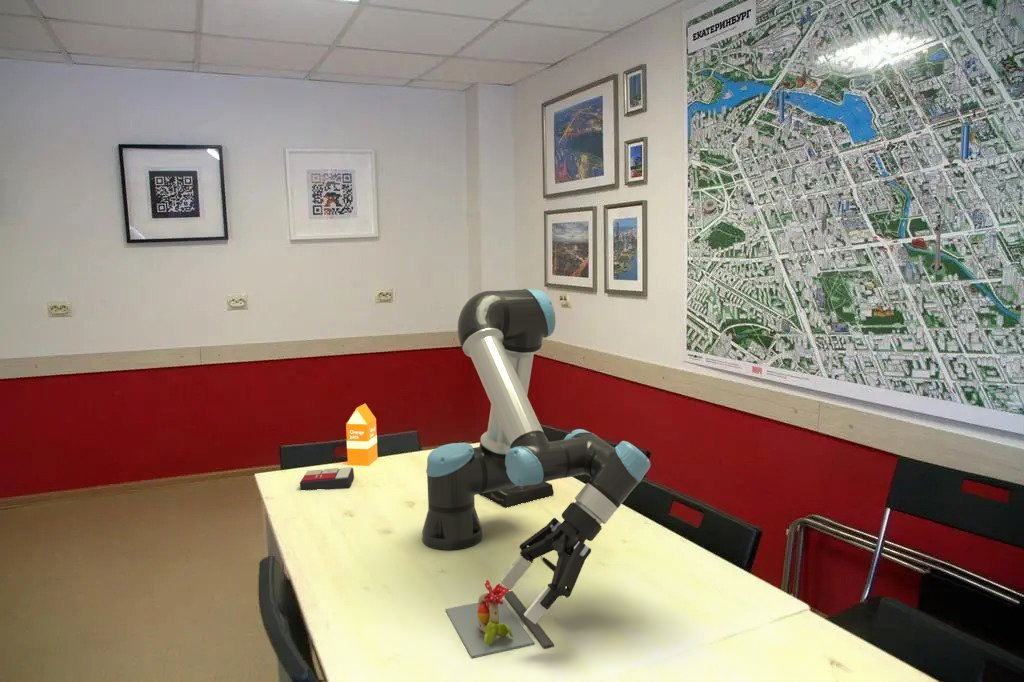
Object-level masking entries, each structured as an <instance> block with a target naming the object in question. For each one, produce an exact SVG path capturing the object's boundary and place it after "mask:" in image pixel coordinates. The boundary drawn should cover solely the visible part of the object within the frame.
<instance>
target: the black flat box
mask: <svg viewBox="0 0 1024 682" xmlns="http://www.w3.org/2000/svg"><path fill="white" fill-rule="evenodd" d="M554 494H555V491H554V489H553V484H552V483H549V482H548V481H546V482H541V483H539V484H535V485H523V486H515V487H513V488H510V489H501V490H496V491H491V492H485V493H480V494H479V495H480V496H482V497H484V498H485V497H486V498H485V499H487V498H488V500H489V499H490V501H491V500H492V501H491V502H494V503H495V502H496V503H495V504H498V505H499V506H501V507H503V508H505V509H508V508H512V507H515V505H516V506H519V505H518V504H520V505H522V504H521V503H524V504H527V503H531V502H534V501H533V500H535V501H538V500H537V499H539V500H542V499H541V498H543V499H546V498H545V497H547V498H550V497H549V496H551V497H553V496H554ZM530 501H531V502H530ZM526 502H527V503H526ZM511 506H512V507H511ZM507 507H508V508H507Z"/></svg>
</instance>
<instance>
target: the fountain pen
mask: <svg viewBox="0 0 1024 682" xmlns="http://www.w3.org/2000/svg"><path fill="white" fill-rule="evenodd" d="M540 559H542V561H543V562H544V563H545V564H546V566H548V567H549V568H550V569H551V570H552V571H553V570H554V571H555V568H556V565H555V564H553V563H552V562H551V561H550V560H549V559H547V558H546V557H544V556H543V555H542V556H540ZM554 571H553V572H554Z"/></svg>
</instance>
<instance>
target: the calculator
mask: <svg viewBox="0 0 1024 682" xmlns="http://www.w3.org/2000/svg"><path fill="white" fill-rule="evenodd" d="M354 480H355V472H354V467H350V466H349V467H340V468H339V467H335V468H332V467H331V468H324V469H313V470H307V471H306V473H304V475H303V477H302V479H301V480H300V482H299V488H300V491H301V490H305V491H318V490H317V489H325V490H333V489H334V490H341V489H342V490H343V489H344V490H346V489H348V490H349V489H350V488H351V486H352V485H353V484H352V483H353V482H354Z"/></svg>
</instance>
